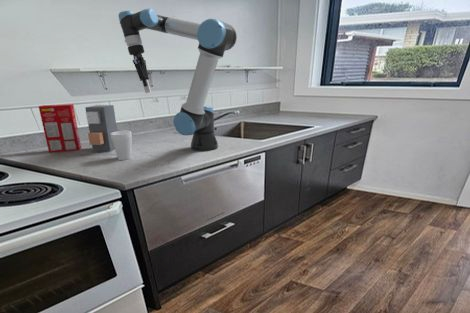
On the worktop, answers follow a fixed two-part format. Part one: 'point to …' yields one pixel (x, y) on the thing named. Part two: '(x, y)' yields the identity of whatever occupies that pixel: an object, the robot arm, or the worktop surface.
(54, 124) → the food packaging
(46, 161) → the worktop surface
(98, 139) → the terracotta plug
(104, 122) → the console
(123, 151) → the foam cup
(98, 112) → the grey plug
